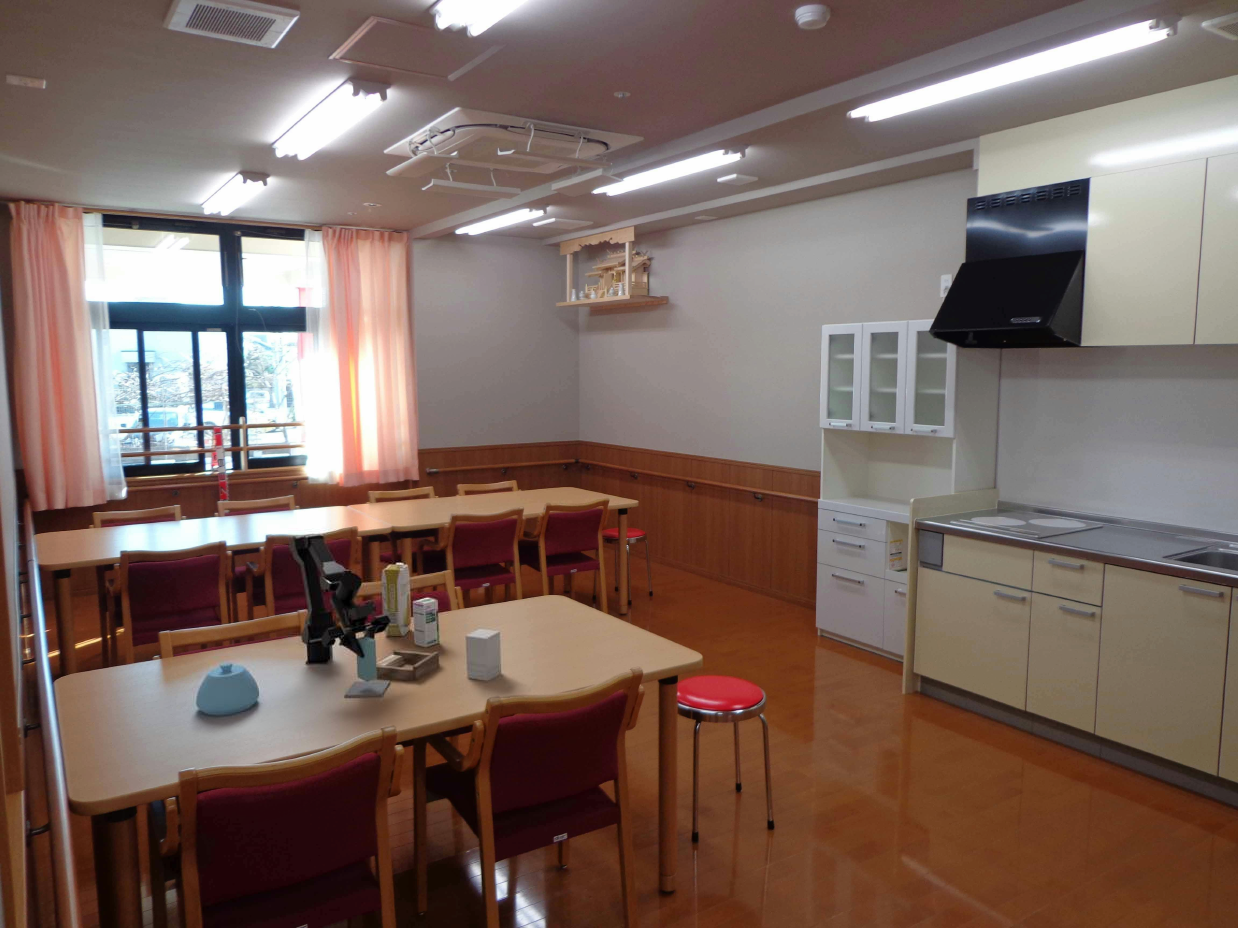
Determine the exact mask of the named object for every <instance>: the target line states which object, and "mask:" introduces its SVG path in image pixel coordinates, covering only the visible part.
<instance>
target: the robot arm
mask: <svg viewBox="0 0 1238 928" xmlns="http://www.w3.org/2000/svg"><path fill="white" fill-rule="evenodd" d="M288 547H289V550H290V552H291V553H292V558H293V559H294V560H295V561H296V562H297V563H298V564H299V565H300V571H301V576H302V581H303V586H304V587H303V588H304V592H305V596H306V602H307V607H308V608H307V610H308V613H307V615H306V617H305V619H304V628H303V630H302V632H301V643H303V644H305V645H306V655H307V657H306V658H307V660H306V661H305V664H306V665H309V664H312V665H313V664H315V665H317V664H328V663H329V662H330V661H331V659H332V658H333V657H334V654H333V653H334V652H333V646H334V645H335V644H336V642H337V640H336V639H339V641H340V642H339V643H338V645H339V647H345V648H346V649H348V650H349V651H351V652H352V653H354V654H355V655H356V656H357V655H358V656H359V657H361V658H364V653H363V651H362V649H361V647H360V645H359V643H358V641H357V634H359V633H363V637H364V636H367V637H369V638H372V639H374V640H375V641H376V638H375V635H377V634H381V633H384V631H385V629H386V628H387V626H388V625H389V623H390V622H391V620H390V618H389V616H388V615H385V614H384V615H383V614H380V615H376V616H374V617H373V618H372V620H371V621H370V622H367V621H368V620H369V617H370V616H373V615H374V614H373V613H375V612H377V611H378V608H377V604H376V603H375V601H374V600H369V601H366V602H365V604H364V605H360V604H357V603H356V601H355V599H356V597H357V595H358V593H359V591H360V589H361V586H362V585H363V580H362V578H361V576H359V574H357V573H355V572H352V570H351V569H346V568H345V567H344V566H343V565H341V564H339V563H337V562H336V561H335V559H334V557H333V555H332V553H331V551H330V550H329V547H328V546H327V545H326V543H325V537H324V535H323V534H322V533H309V534H307V533H306V534H301V535H300V534H299V535H294V536H292V539H290V540H289V543H288ZM319 572H320V574H321V575H319ZM323 591H324V592H325V593H331V592H333V593H332V594H331V596H330V598H329V599H330V600H329V605H330V606H333V609H334V611H335V613H336V615H337V619H336V621H337V623H340V624H341V625H337V624H336V622H335V620H334V617H333V612H332V611H331V610H328V609H327V607H326V606H325V602H324V597H323V595H324V594H323Z"/></svg>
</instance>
